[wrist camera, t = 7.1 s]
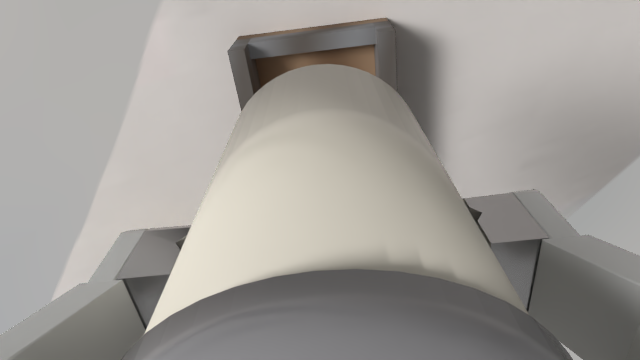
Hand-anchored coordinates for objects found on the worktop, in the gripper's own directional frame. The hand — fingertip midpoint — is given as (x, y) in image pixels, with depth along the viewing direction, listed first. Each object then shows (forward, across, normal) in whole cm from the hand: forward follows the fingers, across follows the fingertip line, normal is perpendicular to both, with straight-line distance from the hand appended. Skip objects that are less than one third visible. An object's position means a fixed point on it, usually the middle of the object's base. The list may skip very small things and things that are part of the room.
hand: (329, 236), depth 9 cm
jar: (+4, 0, 0) cm, 4 cm away
